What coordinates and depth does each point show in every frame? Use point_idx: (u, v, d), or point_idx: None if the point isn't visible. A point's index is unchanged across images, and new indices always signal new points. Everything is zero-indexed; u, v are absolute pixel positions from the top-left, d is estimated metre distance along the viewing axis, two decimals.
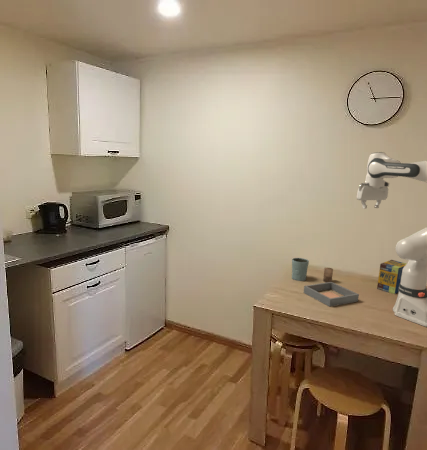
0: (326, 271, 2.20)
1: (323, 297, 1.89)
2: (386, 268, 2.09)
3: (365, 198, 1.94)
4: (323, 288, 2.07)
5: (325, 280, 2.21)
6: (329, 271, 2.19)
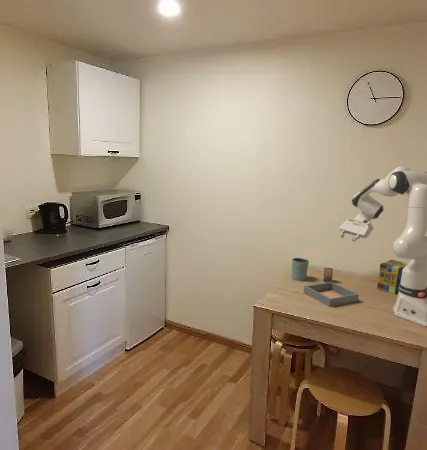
0: (326, 271, 2.20)
1: (323, 297, 1.89)
2: (386, 268, 2.09)
3: (342, 227, 2.30)
4: (323, 288, 2.07)
5: (325, 280, 2.21)
6: (329, 271, 2.19)
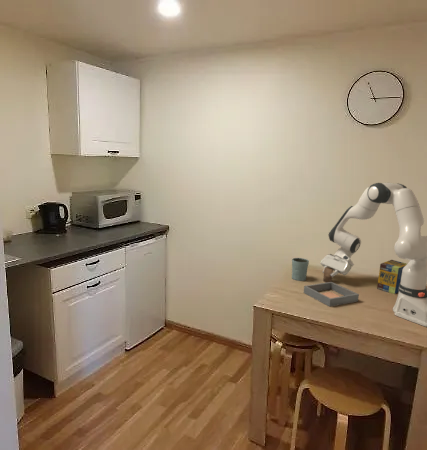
0: (326, 271, 2.20)
1: (323, 297, 1.89)
2: (386, 268, 2.09)
3: (323, 262, 2.28)
4: (323, 288, 2.07)
5: (325, 280, 2.21)
6: (329, 271, 2.19)
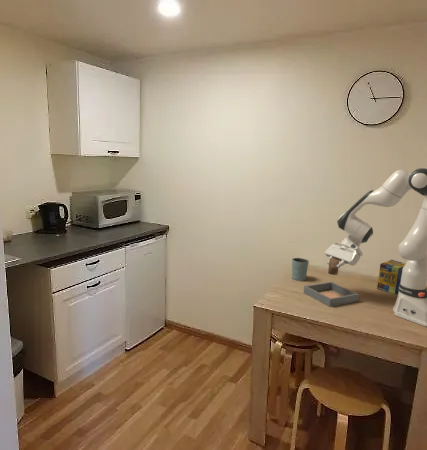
0: (331, 262, 1.96)
1: (323, 297, 1.89)
2: (386, 268, 2.09)
3: (328, 252, 2.04)
4: (323, 288, 2.07)
5: (330, 272, 1.97)
6: (335, 262, 1.95)
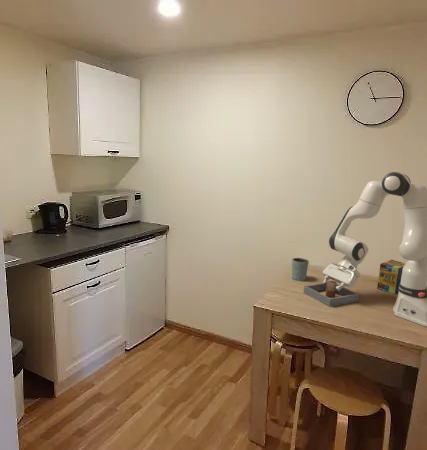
0: (329, 285, 1.95)
1: (323, 297, 1.89)
2: (386, 268, 2.09)
3: (326, 272, 2.03)
4: (323, 288, 2.07)
5: (328, 295, 1.96)
6: (332, 285, 1.94)
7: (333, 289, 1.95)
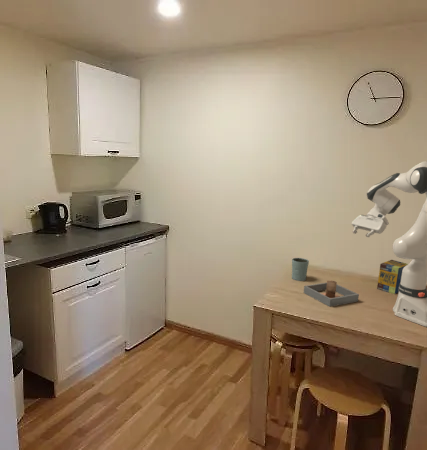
0: (329, 284, 1.95)
1: (323, 297, 1.89)
2: (386, 268, 2.09)
3: (355, 223, 2.17)
4: (323, 288, 2.07)
5: (327, 295, 1.96)
6: (332, 284, 1.94)
7: (333, 289, 1.95)
